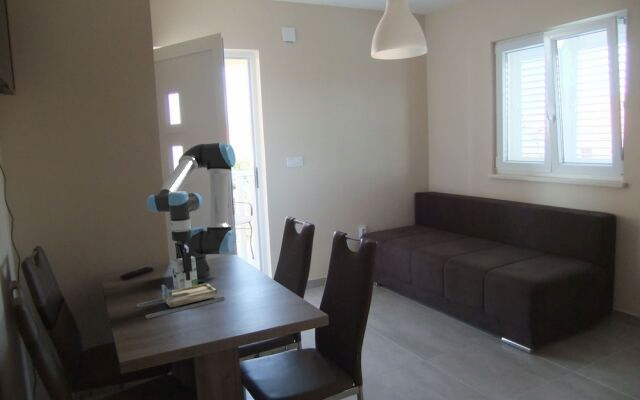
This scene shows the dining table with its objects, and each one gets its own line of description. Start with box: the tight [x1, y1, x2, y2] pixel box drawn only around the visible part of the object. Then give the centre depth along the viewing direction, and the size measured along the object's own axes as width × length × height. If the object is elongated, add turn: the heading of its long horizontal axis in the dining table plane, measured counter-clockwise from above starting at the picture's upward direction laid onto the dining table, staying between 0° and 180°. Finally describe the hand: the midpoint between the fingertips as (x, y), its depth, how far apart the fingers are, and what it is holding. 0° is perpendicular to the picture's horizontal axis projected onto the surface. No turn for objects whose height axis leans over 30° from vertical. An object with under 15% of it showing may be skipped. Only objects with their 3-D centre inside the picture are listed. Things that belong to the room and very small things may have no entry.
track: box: [136, 296, 225, 319], centre depth 188 cm, size 16×31×1 cm, turn 123°
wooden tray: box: [161, 282, 218, 309], centre depth 190 cm, size 12×19×7 cm, turn 123°
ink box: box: [170, 256, 199, 290], centre depth 188 cm, size 9×5×12 cm, turn 134°
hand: (185, 285), depth 189 cm, fingers closed on ink box, 6 cm apart
